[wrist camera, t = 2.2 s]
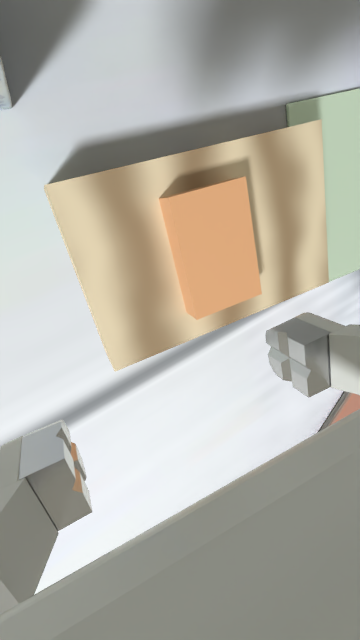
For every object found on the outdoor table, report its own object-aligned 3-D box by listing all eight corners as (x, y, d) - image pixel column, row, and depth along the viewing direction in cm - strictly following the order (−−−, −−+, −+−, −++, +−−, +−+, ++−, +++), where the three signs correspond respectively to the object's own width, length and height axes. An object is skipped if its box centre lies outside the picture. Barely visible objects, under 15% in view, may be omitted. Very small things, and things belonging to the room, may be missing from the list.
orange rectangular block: (230, 178, 24) (245, 176, 23) (248, 288, 28) (261, 293, 26) (158, 198, 23) (168, 197, 21) (186, 312, 26) (197, 319, 25)
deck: (287, 129, 29) (321, 119, 26) (299, 275, 35) (328, 282, 31) (43, 188, 23) (44, 184, 20) (105, 352, 29) (114, 371, 26)
